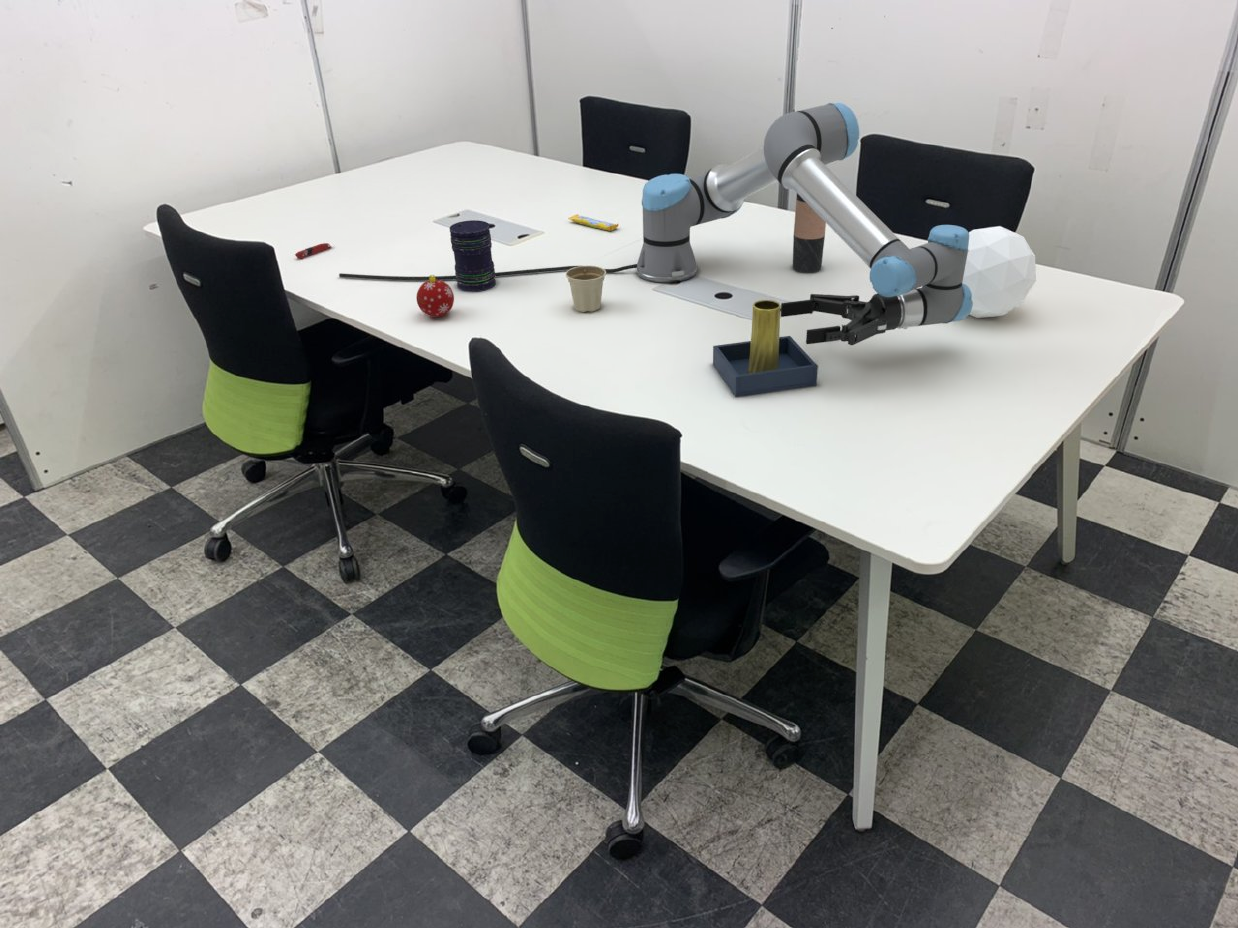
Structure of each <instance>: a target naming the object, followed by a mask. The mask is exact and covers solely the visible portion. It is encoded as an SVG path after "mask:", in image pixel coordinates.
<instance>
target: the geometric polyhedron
mask: <svg viewBox="0 0 1238 928" xmlns="http://www.w3.org/2000/svg"><path fill="white" fill-rule="evenodd" d="M968 232H969V245H968V250H969V251H968V254H967V260H966V265H965V271H964V276H963V281H962V283H963V284H965V285H967V286H968V287H969V289H970V291H971V293H972V302H973V306H972V310H971V312H970V314H969V315H970V316H971V317H973V318H975V319H981V318H982V319H983V318H995V317H1004V316H1005V315H1006V314H1008V313H1009V312H1011V311H1012V310H1014V309H1015V308H1016V307H1018V306H1019V305H1021V304H1022V303H1024V302H1025V300H1026V298H1027V296H1028V295H1029V293H1030V291H1031V289H1032V288H1033V286H1034V285H1035V283H1036V281H1037V270H1036V269H1037V267H1036V255H1035V254H1034V252H1033V250H1032V249H1031V246H1030V245H1029V243H1028V241H1027V240H1026V238H1025V237H1024V236H1023V235H1021V234H1019V233H1017V232H1014V231H1011V230H1010V229H1008V228H1005V227H1003V226H1001V225H998V226H989V227H984V228H977V229H975V228H974V229H971V230H970V231H968ZM969 315H968V316H969Z"/></svg>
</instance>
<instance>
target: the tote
mask: <svg viewBox="0 0 1238 928" xmlns="http://www.w3.org/2000/svg"><path fill="white" fill-rule="evenodd" d="M750 346H751V340H747V341H739V342H733V343H732V342H731V343H725V344H717V345H713V346H712V366H713V367H714V369H715V370H716V371H717V373H718V374H719V376H720V377H721V379H722V380H723V382H724V383H725V385H727V387H728V389H729V390H730V392H731V393H732V394H733V396H734V398H738V397H745V396H752V395H759V394H765V393H767V394H768V393H774V392H780V391H788V390H794V389H802V388H808V387H815V386H817V381H818V368H819V365H817V363H816V362H815V361H814V360H813V359H812V358H811V357H810V355H808V353H807V352H806V351H805V350H804V349H803V348H802V347H801V346H800V345H799V343H797V341H796V340H795V339H794V338H793V337H792V336H791V335H787V336H786V335H785V336H779V360H778V367H779V369H778V370H771V371H764V372H757V373H749V372H748V367H749V357H750Z"/></svg>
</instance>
